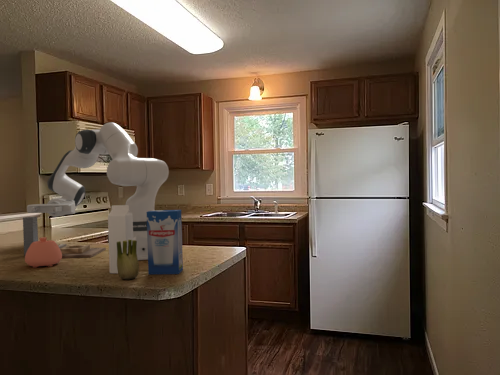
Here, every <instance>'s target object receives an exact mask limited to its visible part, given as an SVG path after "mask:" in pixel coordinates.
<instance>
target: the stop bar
mask: <svg viewBox="0 0 500 375" xmlns="http://www.w3.org/2000/svg"><path fill="white" fill-rule="evenodd" d="M38 224H39V223H38V216H24V217H22V232H23V234H22V235H23V257H25V255H26V252H27V250H28V248H29V247H30V245H31V244H32V243H33V242H36V241H39V227H38V226H39V225H38Z"/></svg>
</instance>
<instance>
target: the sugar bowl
mask: <svg viewBox="0 0 500 375" xmlns="http://www.w3.org/2000/svg"><path fill="white" fill-rule="evenodd" d="M47 238H48V237H44V236H43V237H42V236H41V237H38V241H36V242H33V243H32V244H31V245H30V247H29V248H28V250H27V252H26V255H25V256H24V263H25V264H27V266H30V267H32V268H34V269H35V268H39V267H45V266H46V267H47V266H48V267H49V266H50V267H53V265H56V264H59V262H61V260H62V259H63V258H62V253H61V250H60V248H59V247H58V244H57V242H56V241H54V240H50V239H49V240H47Z"/></svg>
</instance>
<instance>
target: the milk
mask: <svg viewBox="0 0 500 375" xmlns="http://www.w3.org/2000/svg"><path fill="white" fill-rule="evenodd" d="M107 226H108V228H107V229H108V231H107V232H108V234H107V235H108V257H109V258H108V260H109V262H108V263H109V265H108V266H109V274H118V269H117V242H118V241H121V248H122V253H123V241H125V240H126V241H127V254H128V240H129V239H130V240H133V215H132V213H131V212H130V210H129V206H128V205H126V204H119V205H118V204H116V205H113V204H112V205H111V210H110V212H109V213H108V215H107ZM131 245H132V244H131Z"/></svg>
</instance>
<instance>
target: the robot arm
mask: <svg viewBox="0 0 500 375" xmlns="http://www.w3.org/2000/svg"><path fill="white" fill-rule="evenodd" d="M74 145H75V146H74V149H73V150H72V149H71V150H68V151H66V153H65V154H63V156H62V157H61V159H60V160H59V162H58V164H57V166H56V168H54V171H53V172H52V174H51V175H50V177H49V178H47V179H48V180H47V181H46V185H47V188H48V190H50V191H51V192H54V193H56V194H58V195H59V196H61V197H54V198H52V199H50V200H48V201H47V202H46V203H37V204H36V203H35V204H28V205H27V206H26V212H27V214H44V213H45V214H46V213H47V214H48V215H49V216H51V217H54V218H55V217H56V218H58V217H62V216H66V215H73V214H74V215H75V214H76V209H77V208H78V206H79V205H80V204H81V203H82V202H83V200H84V199H85V197H86V187H85V186H84V185H82V184H81V183H79V182H77V181H76V180H74V179H72V178H71V177H69V176H68V174H66V173H67V170H68V168H70V167H75V168H78V169H89V168H92V167H93V166H94V165H95V164H97V160H98V158H99V156H100V155H101V156H103V155H104V156H105V155H109V156H110V157H111V161H109V163H108V165H107V167H106V176H107V179H108V181H109V182H110V183H111V184H113V185H117V186H122V187H131V186H132V187H133V186H134V187H136V190H135V193H134V194H133V195H131V196H130V197H128V198H127V199H126V202H125V205H128V206H129V210H130V212H131V213H132V215H133V240H136V241H137V247H136V253H137V259H138V261H144V260H147V261H148V243H147V212H148V211H152V210H155V205H156V203H155V202H156V198H157V197H156V196H157V194H158V192H159V190H160V187H161V186H162V185H163V184H164V183H165V182H167V180H168V178H169V174H170V170H169V166H168V164H167V163H166V162H165V161H164V160H161V159H158V158H152V157H138V155H139V154H138V153H139V148H138V146H137V143H136V142H135V141H134V140H133V138H132V137H131V136H130V135H129V134H128V132H127V131H126V130H125V129H124V128H123V127H121V126H120V125H119V124H117V123H115V122H112V121H111V122H106V123H104V124H103V125H102V126H101V127H100V128H99V129H87V128H85V129H82V130H79V131H77V133H76V134H75V137H74Z"/></svg>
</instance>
